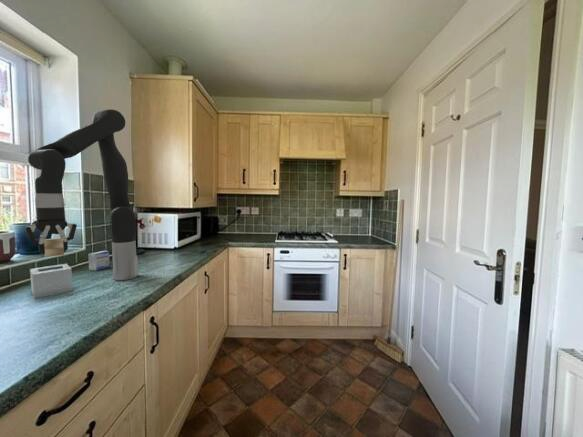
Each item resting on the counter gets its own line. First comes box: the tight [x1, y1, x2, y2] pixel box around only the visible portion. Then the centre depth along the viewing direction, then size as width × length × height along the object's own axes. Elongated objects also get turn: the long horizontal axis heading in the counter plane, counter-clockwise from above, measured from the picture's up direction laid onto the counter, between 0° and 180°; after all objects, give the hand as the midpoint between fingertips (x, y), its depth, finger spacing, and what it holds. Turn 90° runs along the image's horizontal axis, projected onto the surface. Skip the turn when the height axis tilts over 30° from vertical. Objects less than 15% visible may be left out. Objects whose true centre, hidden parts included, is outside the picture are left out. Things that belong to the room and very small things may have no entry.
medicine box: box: [87, 250, 110, 271], centre depth 133 cm, size 8×4×9 cm, turn 168°
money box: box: [29, 263, 74, 299], centre depth 102 cm, size 11×11×9 cm
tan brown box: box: [44, 237, 65, 258], centre depth 93 cm, size 5×3×6 cm, turn 139°
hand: (53, 252), depth 93 cm, fingers closed on tan brown box, 5 cm apart
